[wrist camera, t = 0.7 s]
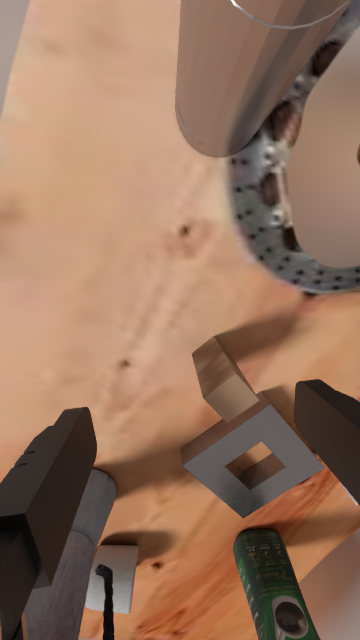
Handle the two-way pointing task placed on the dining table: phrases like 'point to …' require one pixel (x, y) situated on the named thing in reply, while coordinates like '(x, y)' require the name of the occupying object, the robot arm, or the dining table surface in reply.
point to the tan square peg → (222, 381)
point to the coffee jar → (272, 587)
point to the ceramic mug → (123, 569)
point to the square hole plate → (263, 478)
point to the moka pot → (76, 571)
